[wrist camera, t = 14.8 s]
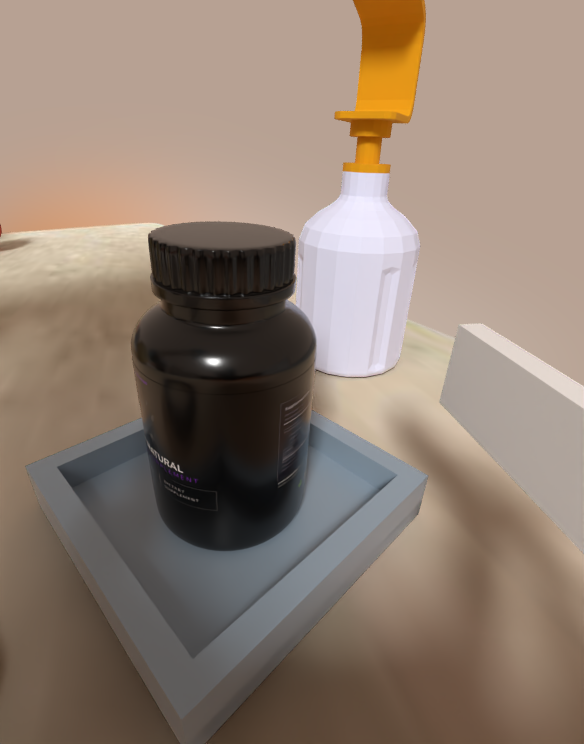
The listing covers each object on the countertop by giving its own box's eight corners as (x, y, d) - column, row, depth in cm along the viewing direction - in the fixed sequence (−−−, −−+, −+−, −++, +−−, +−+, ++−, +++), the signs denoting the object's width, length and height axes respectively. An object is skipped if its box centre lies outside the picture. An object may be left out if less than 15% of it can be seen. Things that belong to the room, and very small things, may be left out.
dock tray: (39, 505, 19) (25, 466, 18) (248, 405, 28) (247, 373, 26) (189, 760, 12) (181, 720, 10) (418, 513, 20) (428, 475, 19)
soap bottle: (276, 363, 33) (283, -44, 22) (318, 327, 41) (342, 7, 29) (382, 391, 30) (459, -73, 18) (408, 346, 37) (476, -7, 25)
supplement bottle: (126, 539, 17) (55, 242, 11) (195, 439, 23) (173, 211, 17) (287, 577, 16) (303, 265, 10) (316, 461, 21) (337, 223, 16)
